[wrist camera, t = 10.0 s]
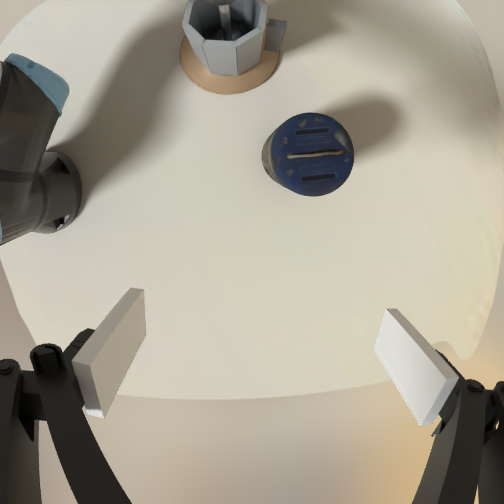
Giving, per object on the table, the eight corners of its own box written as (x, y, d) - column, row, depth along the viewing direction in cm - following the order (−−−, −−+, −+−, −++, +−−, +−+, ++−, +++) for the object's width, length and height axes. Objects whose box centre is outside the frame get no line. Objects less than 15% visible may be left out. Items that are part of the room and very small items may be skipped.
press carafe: (174, 91, 42) (148, 66, 29) (190, 11, 38) (174, -30, 25) (272, 99, 43) (284, 75, 30) (283, 18, 39) (296, -23, 26)
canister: (264, 124, 45) (276, 101, 27) (322, 132, 45) (364, 117, 28) (258, 183, 47) (266, 193, 30) (316, 189, 48) (354, 204, 31)
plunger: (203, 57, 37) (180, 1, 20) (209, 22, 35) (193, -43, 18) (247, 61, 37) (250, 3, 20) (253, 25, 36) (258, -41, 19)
